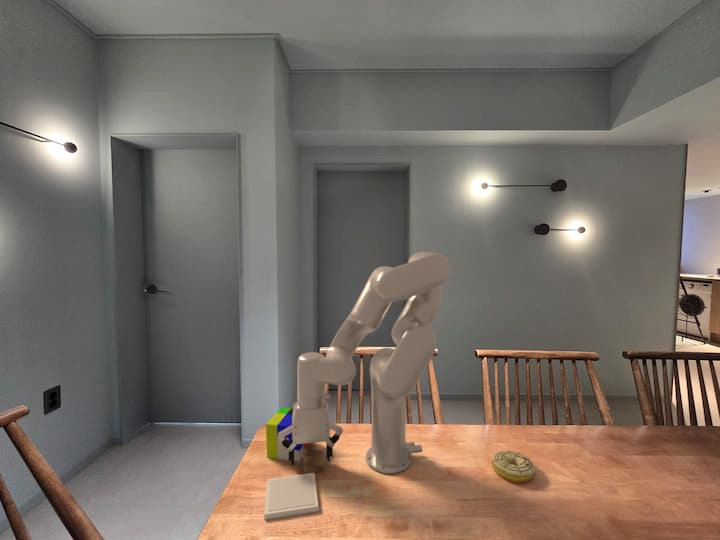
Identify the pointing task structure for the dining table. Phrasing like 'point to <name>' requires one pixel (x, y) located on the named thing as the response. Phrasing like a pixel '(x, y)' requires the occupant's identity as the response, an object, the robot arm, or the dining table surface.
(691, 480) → the dining table surface
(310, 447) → the walnut cube
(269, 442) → the puzzle toy
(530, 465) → the decorated donut
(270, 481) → the plate
